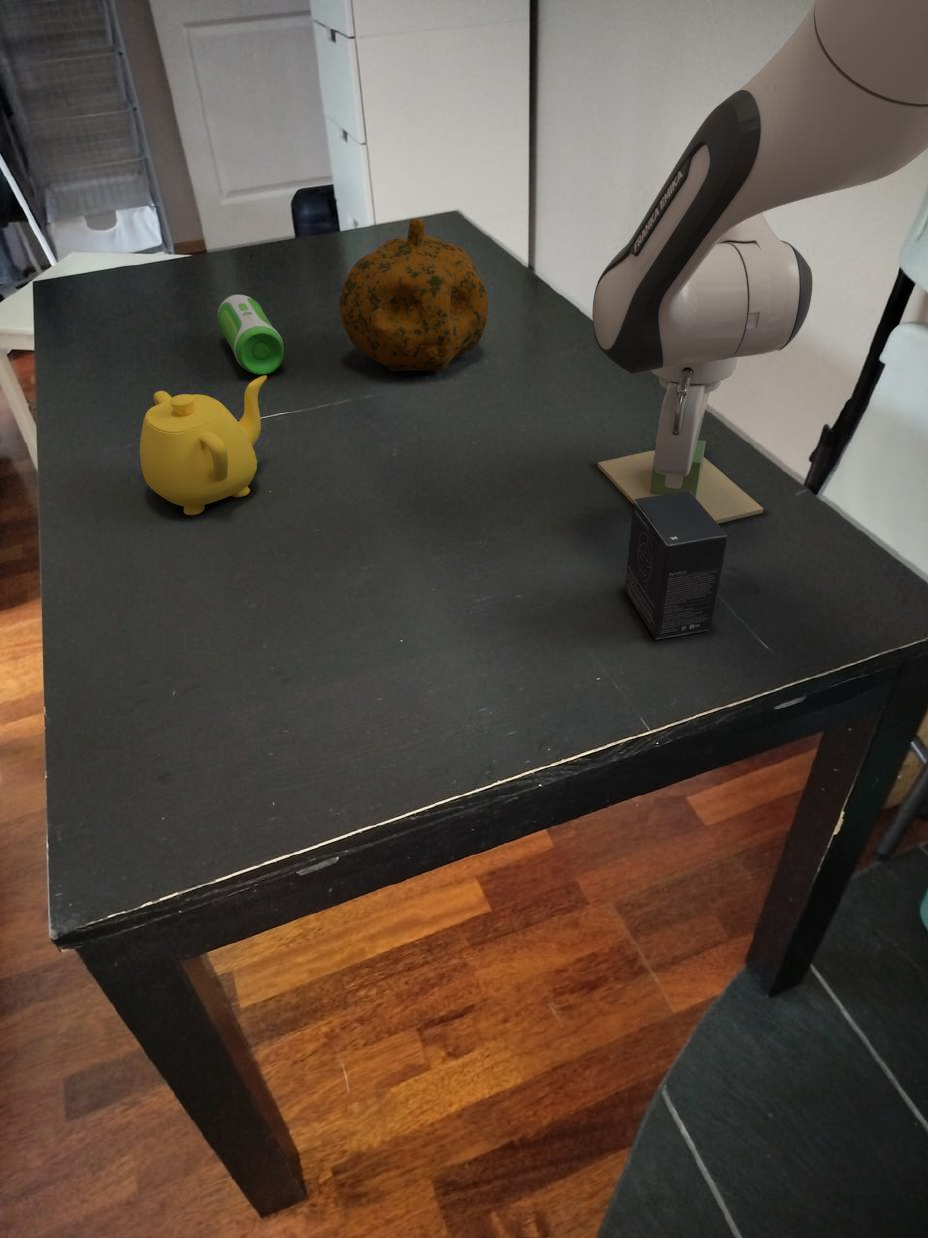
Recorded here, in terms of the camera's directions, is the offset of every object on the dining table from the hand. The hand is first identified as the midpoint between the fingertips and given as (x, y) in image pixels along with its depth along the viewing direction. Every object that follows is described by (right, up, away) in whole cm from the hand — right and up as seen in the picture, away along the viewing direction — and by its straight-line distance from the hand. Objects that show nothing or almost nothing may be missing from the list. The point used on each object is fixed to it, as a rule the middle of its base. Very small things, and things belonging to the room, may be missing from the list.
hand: (677, 470), depth 96 cm
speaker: (-56, +23, +36) cm, 71 cm away
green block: (0, -1, +1) cm, 2 cm away
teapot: (-53, -1, +7) cm, 53 cm away
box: (-5, -16, -15) cm, 22 cm away
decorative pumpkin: (-31, +22, +33) cm, 50 cm away
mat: (0, -2, +2) cm, 2 cm away
